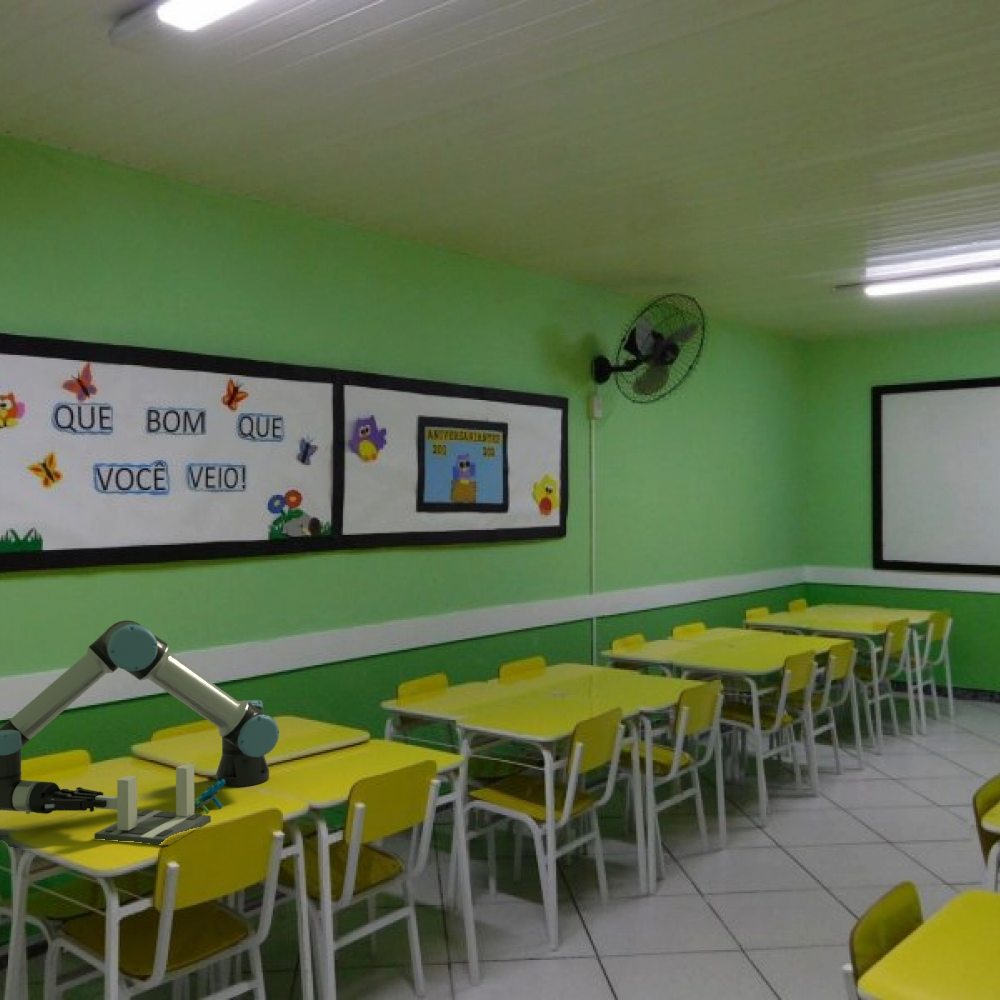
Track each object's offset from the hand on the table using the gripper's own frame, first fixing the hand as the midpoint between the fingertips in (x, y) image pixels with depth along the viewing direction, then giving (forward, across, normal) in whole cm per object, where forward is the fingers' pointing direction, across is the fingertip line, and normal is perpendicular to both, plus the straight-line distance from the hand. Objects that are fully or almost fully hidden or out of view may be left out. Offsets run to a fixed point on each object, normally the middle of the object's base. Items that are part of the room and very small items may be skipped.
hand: (120, 803), depth 242 cm
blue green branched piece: (+9, -25, -8) cm, 28 cm away
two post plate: (+6, -6, -8) cm, 11 cm away
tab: (+2, 0, -6) cm, 6 cm away
